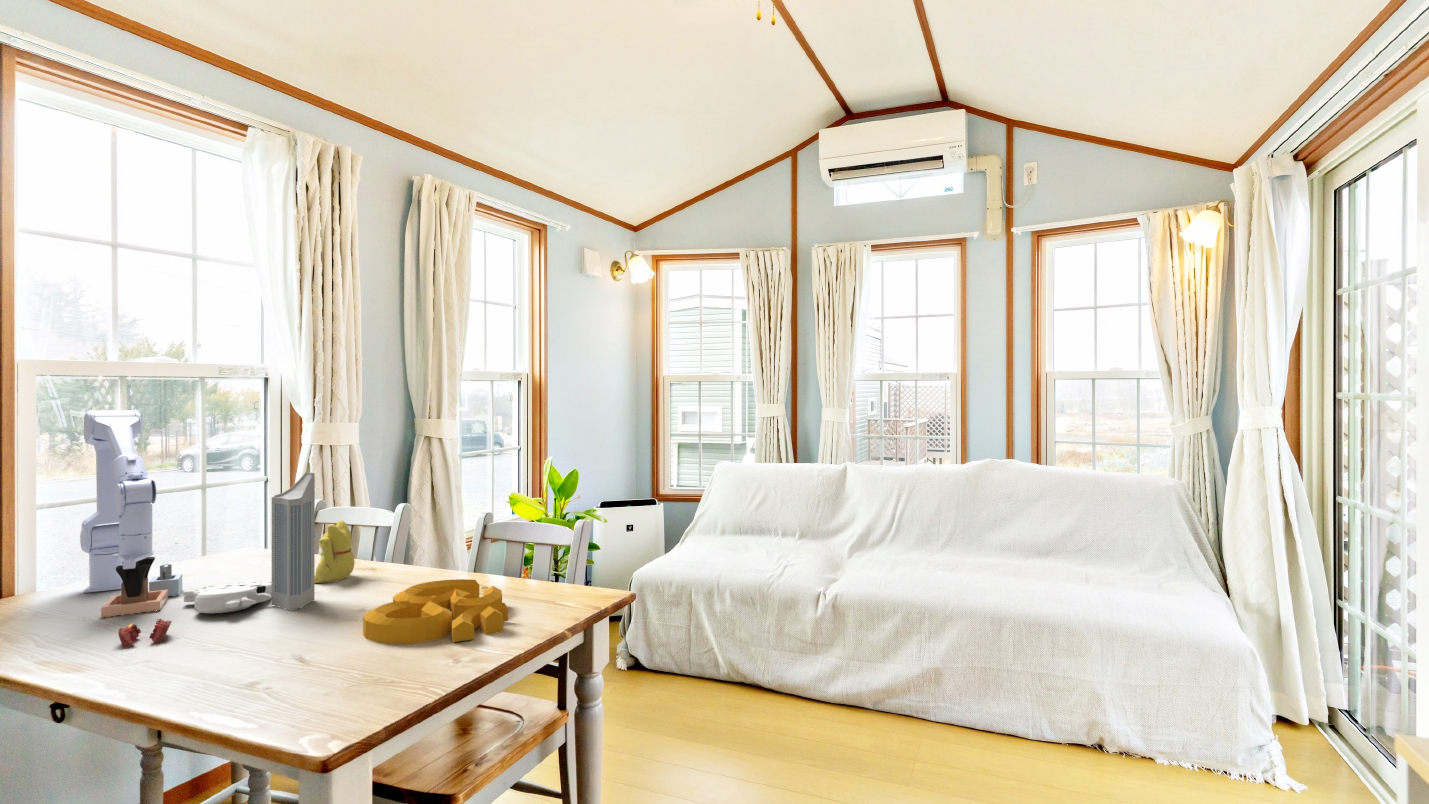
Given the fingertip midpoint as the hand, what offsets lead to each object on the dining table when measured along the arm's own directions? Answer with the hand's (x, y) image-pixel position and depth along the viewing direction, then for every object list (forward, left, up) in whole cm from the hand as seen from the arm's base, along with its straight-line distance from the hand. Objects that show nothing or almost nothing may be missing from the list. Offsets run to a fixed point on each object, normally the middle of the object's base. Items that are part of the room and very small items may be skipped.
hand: (136, 593), depth 155 cm
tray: (0, 0, -3) cm, 3 cm away
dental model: (+26, +6, -4) cm, 27 cm away
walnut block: (0, 0, -2) cm, 2 cm away
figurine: (-5, +39, -3) cm, 39 cm away
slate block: (-9, +4, -3) cm, 11 cm away
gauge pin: (-9, +4, -3) cm, 11 cm away
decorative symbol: (+41, +59, -4) cm, 72 cm away
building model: (+13, +30, -3) cm, 33 cm away
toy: (+7, +18, -4) cm, 20 cm away
